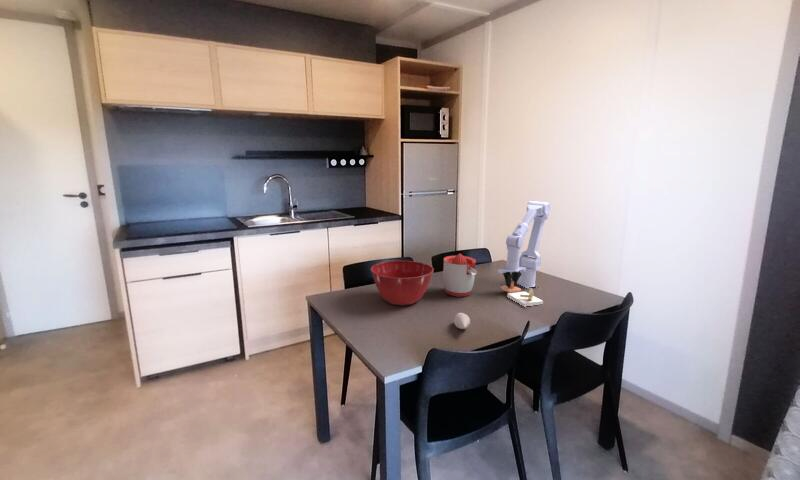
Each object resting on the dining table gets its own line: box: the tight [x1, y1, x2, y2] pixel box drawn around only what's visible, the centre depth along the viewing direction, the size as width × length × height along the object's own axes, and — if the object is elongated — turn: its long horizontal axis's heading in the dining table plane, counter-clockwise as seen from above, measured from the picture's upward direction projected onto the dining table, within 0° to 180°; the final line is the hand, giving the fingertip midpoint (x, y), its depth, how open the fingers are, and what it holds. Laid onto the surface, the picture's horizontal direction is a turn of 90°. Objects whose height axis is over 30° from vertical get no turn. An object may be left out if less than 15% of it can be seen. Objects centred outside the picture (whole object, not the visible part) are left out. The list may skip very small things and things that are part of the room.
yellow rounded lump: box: [520, 288, 534, 301], centre depth 176 cm, size 6×6×5 cm
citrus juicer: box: [442, 253, 478, 298], centre depth 186 cm, size 16×17×20 cm
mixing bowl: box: [370, 260, 434, 306], centre depth 177 cm, size 28×28×16 cm
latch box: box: [506, 291, 544, 308], centre depth 180 cm, size 13×10×2 cm
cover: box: [500, 279, 522, 293], centre depth 189 cm, size 7×7×5 cm
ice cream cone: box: [453, 312, 471, 330], centre depth 148 cm, size 6×6×15 cm
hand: (510, 286), depth 189 cm, fingers closed on cover, 3 cm apart
